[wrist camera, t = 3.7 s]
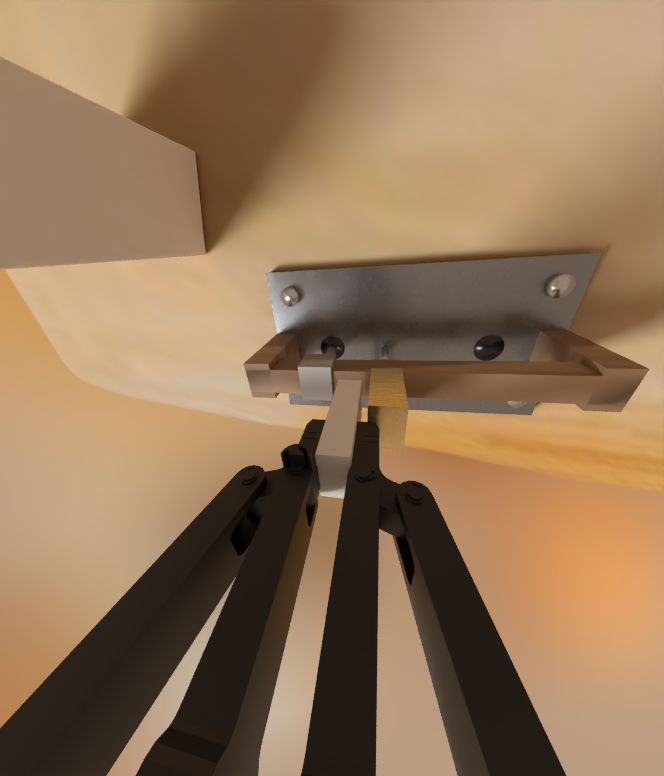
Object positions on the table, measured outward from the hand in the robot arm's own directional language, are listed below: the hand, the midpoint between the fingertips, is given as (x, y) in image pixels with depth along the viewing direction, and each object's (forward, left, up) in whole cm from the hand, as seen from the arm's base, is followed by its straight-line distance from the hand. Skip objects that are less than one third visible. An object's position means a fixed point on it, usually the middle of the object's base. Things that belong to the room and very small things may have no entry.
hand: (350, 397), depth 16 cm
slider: (0, +2, -8) cm, 9 cm away
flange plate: (0, +4, -10) cm, 11 cm away
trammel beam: (0, +4, -10) cm, 11 cm away
